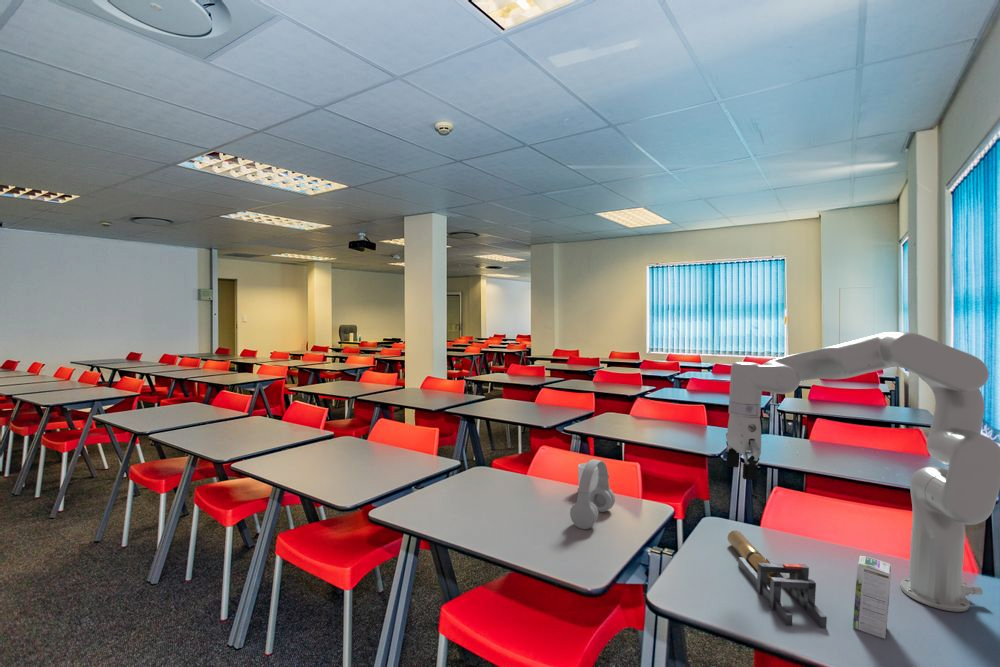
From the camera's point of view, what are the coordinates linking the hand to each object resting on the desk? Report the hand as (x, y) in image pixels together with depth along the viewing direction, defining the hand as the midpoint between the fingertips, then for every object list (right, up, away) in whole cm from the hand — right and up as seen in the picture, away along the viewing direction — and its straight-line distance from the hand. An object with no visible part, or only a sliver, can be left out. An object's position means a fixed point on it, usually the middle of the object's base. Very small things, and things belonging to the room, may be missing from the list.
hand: (740, 472), depth 129 cm
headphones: (-33, -24, +31) cm, 51 cm away
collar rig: (+4, -27, -10) cm, 29 cm away
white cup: (-31, -23, +54) cm, 66 cm away
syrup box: (+17, -28, -23) cm, 40 cm away
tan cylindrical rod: (+5, -26, +4) cm, 27 cm away
